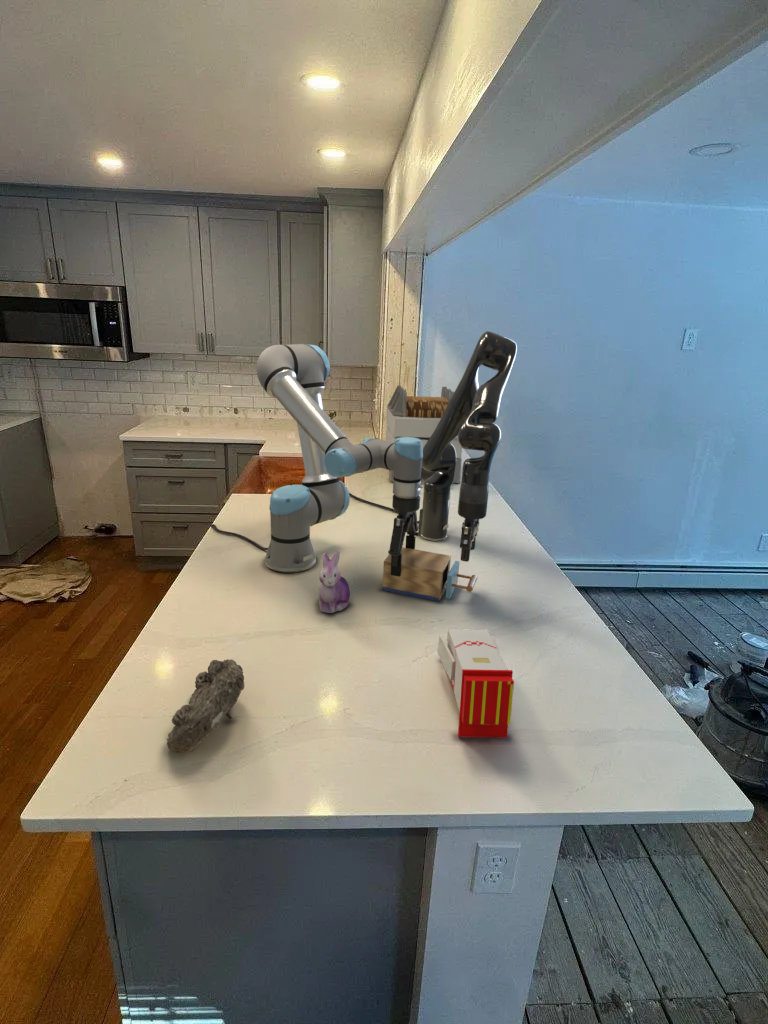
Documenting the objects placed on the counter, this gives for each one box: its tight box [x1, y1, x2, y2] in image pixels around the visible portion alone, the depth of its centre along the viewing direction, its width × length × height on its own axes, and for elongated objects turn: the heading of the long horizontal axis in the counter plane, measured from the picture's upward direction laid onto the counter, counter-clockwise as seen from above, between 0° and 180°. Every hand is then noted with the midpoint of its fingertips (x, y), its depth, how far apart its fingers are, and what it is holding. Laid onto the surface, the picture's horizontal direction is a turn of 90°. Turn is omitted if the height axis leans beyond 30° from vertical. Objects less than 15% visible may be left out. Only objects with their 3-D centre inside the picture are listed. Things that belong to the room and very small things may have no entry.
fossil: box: [166, 658, 245, 754], centre depth 106 cm, size 22×10×15 cm
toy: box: [437, 628, 515, 738], centre depth 117 cm, size 12×13×30 cm
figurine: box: [318, 551, 351, 614], centre depth 147 cm, size 9×10×15 cm
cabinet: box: [381, 546, 452, 602], centre depth 161 cm, size 16×11×9 cm
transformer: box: [384, 384, 463, 484], centre depth 268 cm, size 34×33×41 cm
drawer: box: [441, 560, 478, 600], centre depth 159 cm, size 21×10×7 cm, turn 71°
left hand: (402, 565), depth 161 cm, fingers open, 13 cm apart
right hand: (467, 554), depth 154 cm, fingers open, 8 cm apart
